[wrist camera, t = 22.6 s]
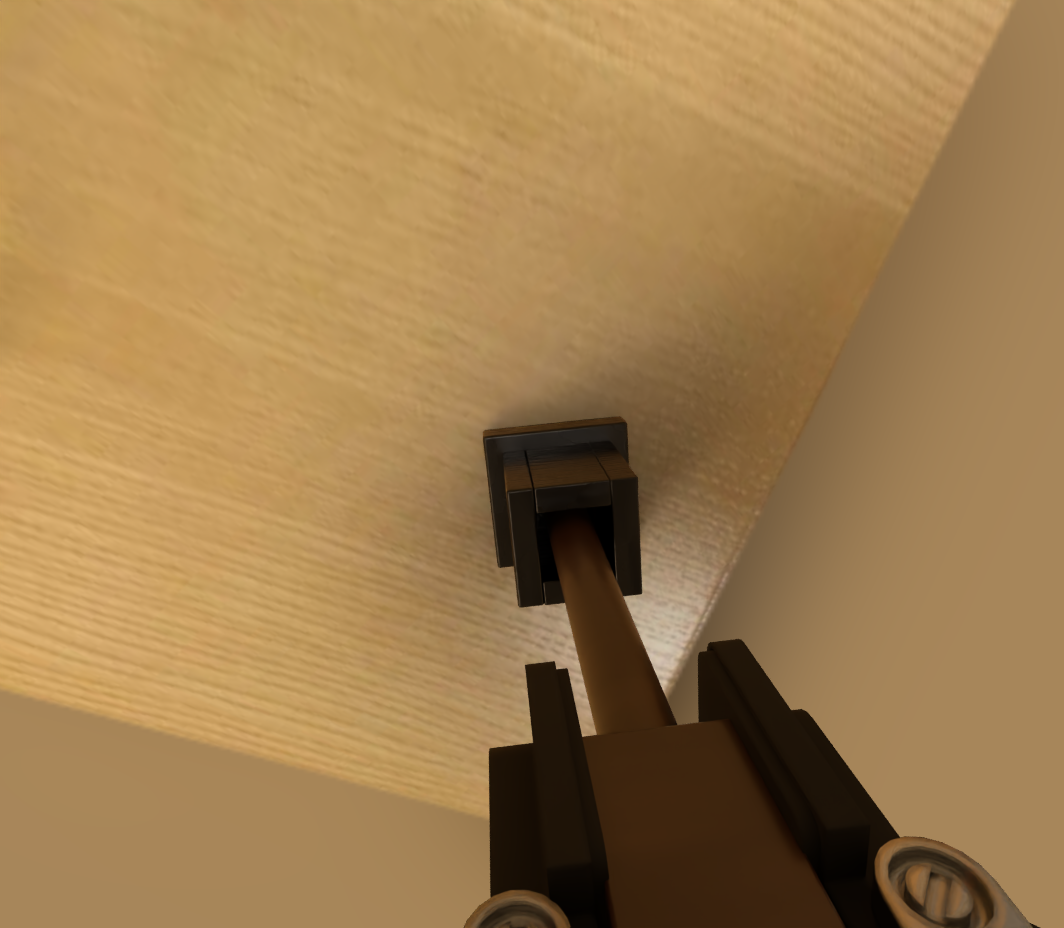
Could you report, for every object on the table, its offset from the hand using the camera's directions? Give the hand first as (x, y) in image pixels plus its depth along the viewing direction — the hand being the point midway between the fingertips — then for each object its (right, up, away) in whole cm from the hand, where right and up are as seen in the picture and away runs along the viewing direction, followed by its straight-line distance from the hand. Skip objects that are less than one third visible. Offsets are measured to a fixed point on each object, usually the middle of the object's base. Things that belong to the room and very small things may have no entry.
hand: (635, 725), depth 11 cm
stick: (-1, +3, +10) cm, 11 cm away
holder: (-1, +4, +12) cm, 13 cm away
